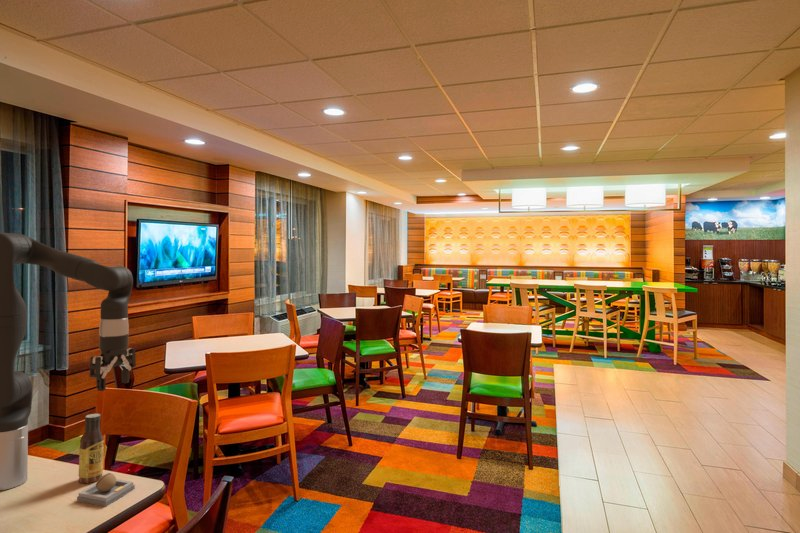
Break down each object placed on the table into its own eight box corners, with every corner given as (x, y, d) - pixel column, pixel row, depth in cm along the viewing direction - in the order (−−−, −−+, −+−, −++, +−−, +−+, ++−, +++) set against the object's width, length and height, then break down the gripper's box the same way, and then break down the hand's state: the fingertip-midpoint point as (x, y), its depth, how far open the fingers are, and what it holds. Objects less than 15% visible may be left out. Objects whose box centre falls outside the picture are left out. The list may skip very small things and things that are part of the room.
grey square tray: (77, 501, 130) (77, 492, 130) (107, 484, 140) (107, 475, 140) (106, 506, 128) (106, 497, 128) (134, 488, 138) (134, 480, 138)
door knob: (116, 485, 137) (116, 468, 137) (115, 493, 133) (115, 476, 133) (96, 488, 135) (97, 471, 135) (94, 496, 131) (94, 479, 130)
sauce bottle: (90, 485, 139) (91, 420, 138) (73, 483, 140) (73, 418, 140) (108, 475, 145) (109, 413, 145) (91, 473, 146) (92, 411, 146)
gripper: (123, 328, 146) (122, 379, 147) (82, 336, 132) (82, 392, 133) (143, 330, 144) (142, 381, 145) (104, 338, 130) (103, 394, 131)
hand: (113, 386), depth 139 cm, fingers open, 8 cm apart
